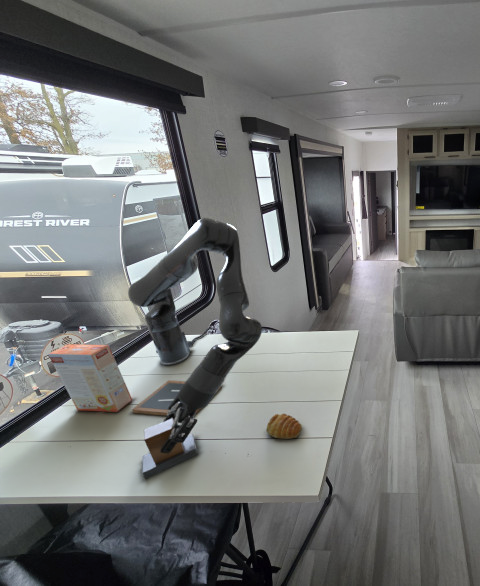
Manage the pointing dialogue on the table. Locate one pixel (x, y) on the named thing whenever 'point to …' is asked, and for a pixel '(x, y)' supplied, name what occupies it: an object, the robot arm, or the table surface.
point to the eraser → (155, 441)
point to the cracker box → (91, 377)
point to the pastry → (283, 427)
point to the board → (160, 399)
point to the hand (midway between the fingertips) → (163, 440)
